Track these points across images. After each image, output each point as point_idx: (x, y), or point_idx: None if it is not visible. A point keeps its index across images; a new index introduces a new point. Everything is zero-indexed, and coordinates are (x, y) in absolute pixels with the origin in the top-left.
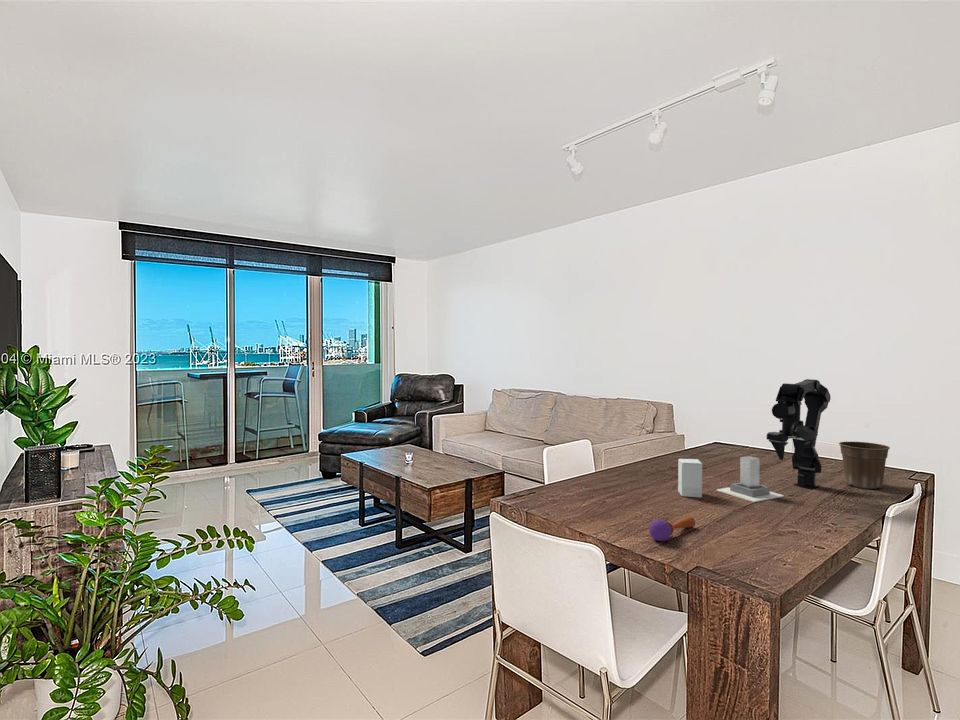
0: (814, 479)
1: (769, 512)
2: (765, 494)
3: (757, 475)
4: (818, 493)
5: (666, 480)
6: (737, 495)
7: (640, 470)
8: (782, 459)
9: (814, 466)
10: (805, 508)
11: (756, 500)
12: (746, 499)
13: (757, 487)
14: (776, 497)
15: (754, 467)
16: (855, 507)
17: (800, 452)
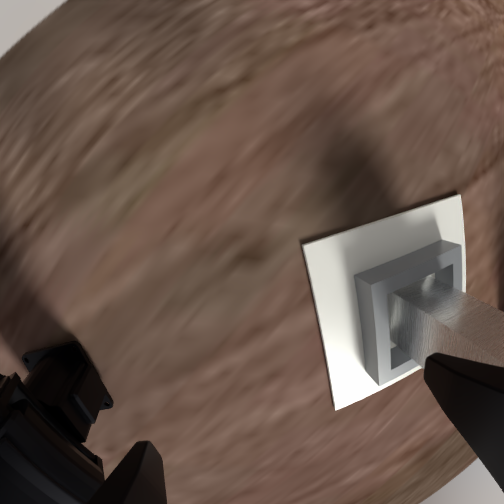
0: (32, 372)
1: (467, 90)
2: (380, 265)
3: (452, 318)
4: (79, 266)
5: None
6: (463, 269)
7: (443, 474)
8: (435, 353)
9: (9, 396)
10: (338, 63)
11: (452, 198)
12: (461, 227)
13: (411, 296)
14: (353, 228)
15: (498, 328)
16: (95, 37)
17: (129, 492)
